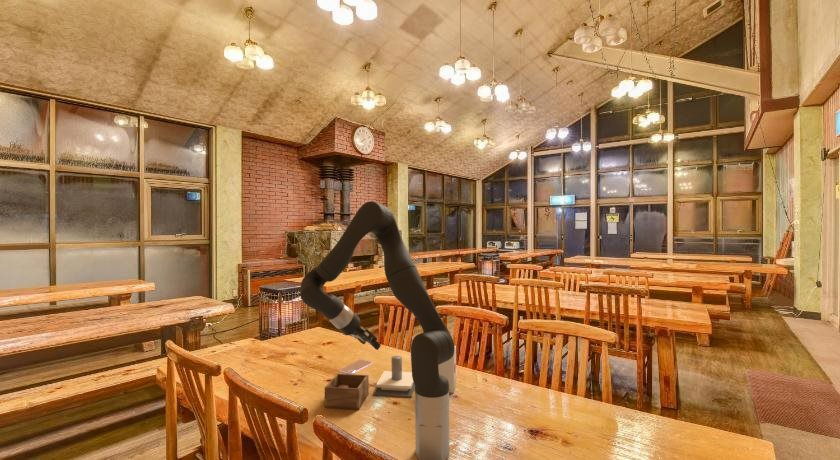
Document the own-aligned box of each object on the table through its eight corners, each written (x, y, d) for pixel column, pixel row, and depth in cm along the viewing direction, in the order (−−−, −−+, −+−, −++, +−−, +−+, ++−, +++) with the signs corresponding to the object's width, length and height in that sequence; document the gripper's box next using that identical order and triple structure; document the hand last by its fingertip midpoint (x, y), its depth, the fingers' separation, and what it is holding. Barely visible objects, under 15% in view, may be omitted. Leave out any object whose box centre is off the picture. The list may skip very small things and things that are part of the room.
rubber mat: (411, 397, 136) (411, 396, 136) (373, 395, 138) (373, 393, 138) (418, 377, 154) (418, 376, 154) (384, 375, 156) (384, 374, 156)
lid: (410, 393, 138) (410, 364, 138) (376, 391, 140) (375, 362, 140) (416, 378, 151) (415, 352, 151) (384, 377, 153) (384, 351, 153)
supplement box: (454, 393, 139) (454, 353, 139) (430, 391, 141) (429, 351, 141) (456, 383, 148) (456, 345, 148) (434, 381, 150) (433, 344, 149)
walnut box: (358, 409, 127) (358, 389, 127) (324, 407, 129) (324, 387, 129) (368, 394, 139) (368, 375, 139) (337, 392, 141) (337, 373, 141)
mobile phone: (373, 361, 170) (351, 373, 157) (373, 363, 170) (351, 375, 157) (360, 358, 174) (337, 369, 161) (360, 361, 174) (337, 372, 161)
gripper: (361, 313, 126) (389, 340, 134) (340, 306, 137) (366, 332, 145) (348, 332, 123) (377, 358, 131) (326, 324, 134) (355, 349, 141)
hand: (371, 344), depth 138 cm, fingers open, 8 cm apart
